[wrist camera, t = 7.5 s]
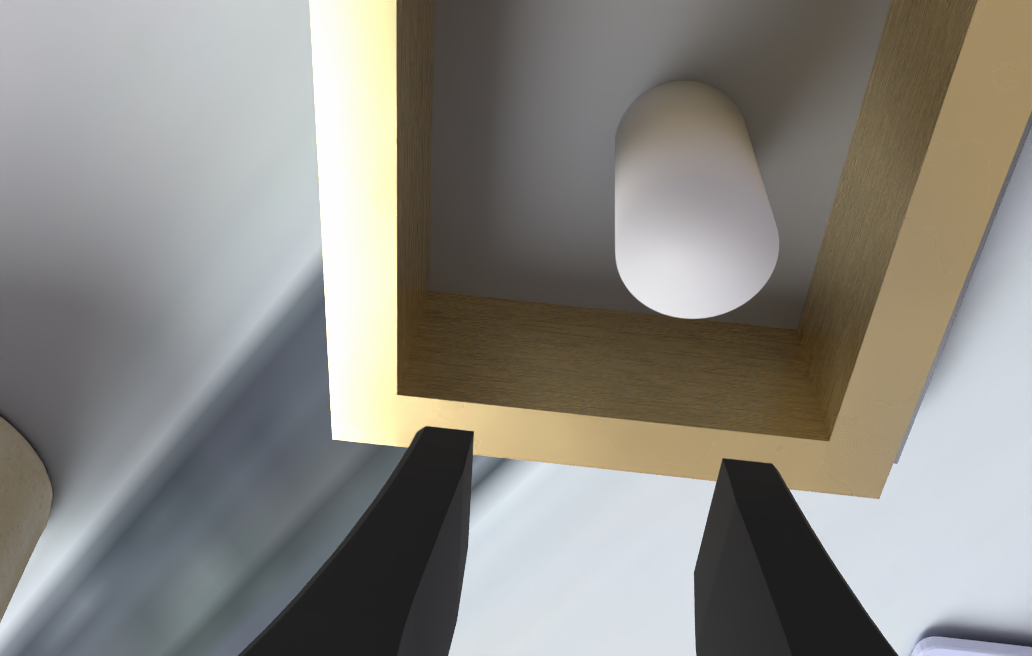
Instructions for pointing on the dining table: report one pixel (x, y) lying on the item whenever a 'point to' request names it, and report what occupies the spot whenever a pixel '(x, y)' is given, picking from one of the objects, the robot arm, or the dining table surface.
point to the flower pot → (19, 507)
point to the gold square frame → (658, 338)
